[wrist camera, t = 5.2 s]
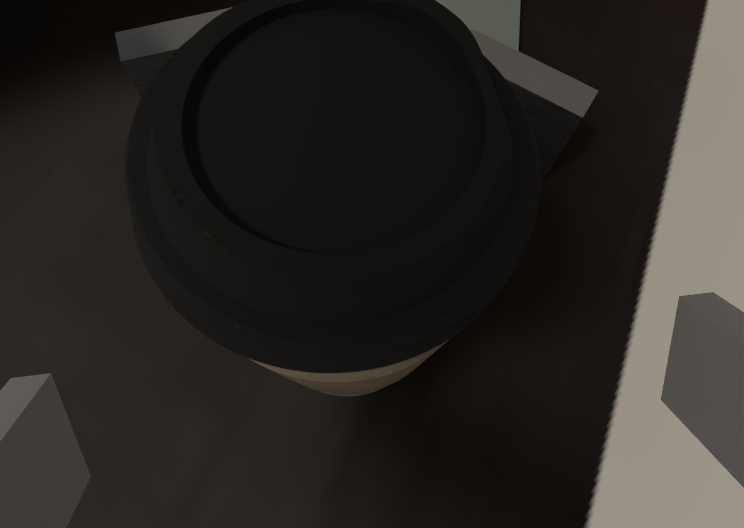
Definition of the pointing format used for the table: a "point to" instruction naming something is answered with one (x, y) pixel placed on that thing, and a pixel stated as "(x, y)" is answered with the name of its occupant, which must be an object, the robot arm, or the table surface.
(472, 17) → the mat
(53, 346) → the table surface
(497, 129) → the coffee cup
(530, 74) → the bent rail
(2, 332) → the table surface
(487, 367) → the table surface
